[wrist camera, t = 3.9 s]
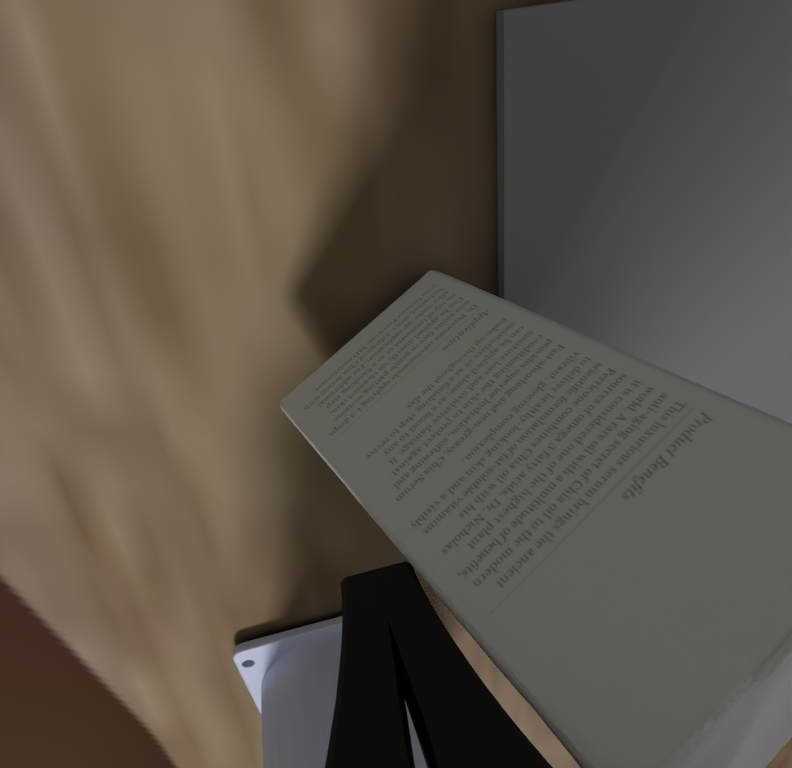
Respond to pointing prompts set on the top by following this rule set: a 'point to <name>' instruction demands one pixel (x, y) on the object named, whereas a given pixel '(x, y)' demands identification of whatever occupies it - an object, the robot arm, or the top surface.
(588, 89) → the mat
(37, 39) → the top surface
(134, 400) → the top surface
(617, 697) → the skincare box
